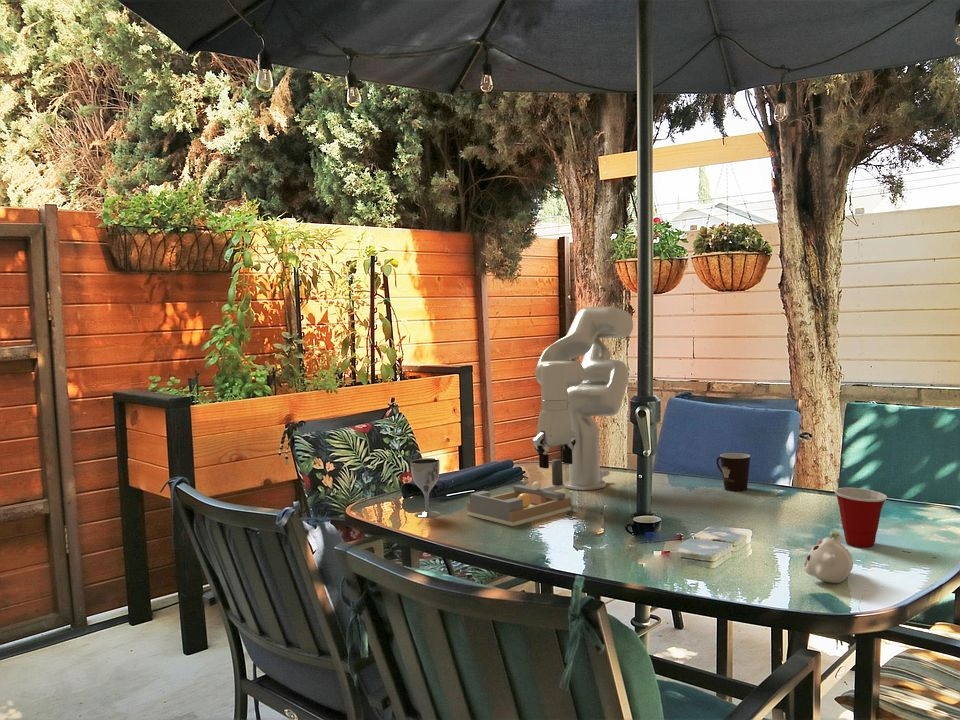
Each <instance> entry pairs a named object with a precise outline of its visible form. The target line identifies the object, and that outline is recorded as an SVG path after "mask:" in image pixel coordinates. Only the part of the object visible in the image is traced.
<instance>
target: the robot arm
mask: <svg viewBox="0 0 960 720" xmlns="http://www.w3.org/2000/svg"><path fill="white" fill-rule="evenodd" d="M573 318H574V319H573V320H572V323H571V325H570V326H569V329H568V331H567V333H566V335H565V336H564V337H561V338H560V339H558V340H557V341H555V342H553V343H552V344H550V345H549V346H547V348H545V349H544V350H543V352H542V354H541V355H540V357H539V360H538V362H537V365H536V367H535V373H534V375H535V379H536V381H537V383H538V384H539V385H540V387H541V388H540V391H541V392H540V393H541V400H540V401H541V410H540V411H539V415H538V419H537V420H538V421H537V431H536V432H537V434H536V436H535V437H534V438H533V439H532V443H533V446H534V449H535V450H536V452H537V454H538V461H539V462H538V463H539V464H538V467H539V468H541V469H547V470H548V469H550V468H549V467H550V460H549V459H550V458H549V457H550V455H549V454H548V452H549V450H550V448H554V447H561V446H562V447H563V449H562V464H567V465H568V470H569V471H568V472H569V473H568V476H569V479H568V480H565V482H564V486H565V487H564V488H566V489H570V490H577V491H578V490H579V491H592V490H593V491H594V490H598V489H602V488H605V487H606V481H605V480H603V478H605V477H608V476H610V473H611V472H610V471H609V470H608V469H604V470H602V469H601V459H600V457H601V456H600V431H599V427H598V424H597V423H596V421H595V420H594V419H593V417H613V416H616V415H617V414H618V413H619V411H620V409H621V407H622V406H621V405H622V403H623V400H624V395H625V393H626V390H627V386H628V383H629V372H628V367H627V364H626V363H624V362H623V361H622V360H618V359H611V357H612V354H611V352H610V349H609V348H608V346H607V345H606V344H605V343H604V342H603V341H602V340H601V339H616V338H617V339H621V338H627V337H629V336H630V335H631V334H632V333H633V329H634V321H633V317H632V315H631V314H630V312H628V311H626V310H625V309H624V310H623V309H621V308H618V307H616V306H614V307H613V306H595V307H594V306H593V307H591V306H590V307H584V308H582V309H579V310H578V311H577V312H576V314H575V316H574V317H573ZM582 356H583V357H582ZM579 357H582V360H581V361H580V362H579V361H576V360H573V359H576V358H579Z"/></svg>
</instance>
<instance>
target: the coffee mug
mask: <svg viewBox="0 0 960 720" xmlns="http://www.w3.org/2000/svg"><path fill="white" fill-rule="evenodd" d="M719 462H720V464H719ZM750 464H751V454H747V453H740V452H731V453H730V452H728V453H727V452H726V453H722V454H720V455H719V456H718V457H717V458H716V466H717V468H718V470H719V471H720V472H721V474H722V480H723V487H724V490H725V491H728V492H736V493H737V492H746V491H747V490H748V484H749V483H748V482H749V473H750Z"/></svg>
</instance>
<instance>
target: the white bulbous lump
mask: <svg viewBox="0 0 960 720" xmlns="http://www.w3.org/2000/svg"><path fill="white" fill-rule="evenodd" d="M829 536H830V537H829ZM829 536H827V537H824V538H823V539H822V538H819V539H818V540H817V542H816V544H815V545H813V547H811V549H810V550H809V552H808V554H807V557H806V559H805V560H804V571H805V573H806V574H807V575H810V576H811V577H815V578H816V579H818V580H820V581H823V582H825V583H831V584H839V583H841V582H843V581H845V580H846V579H847V578H848V576H850V574H851V571H852V570H853V568H854V558H853V556H852V554H851V553H850V551H849V550H848V549H847V548H846V546H844V545H842V541H843V536H842V534H840V533H839V532H838V531H833V530H831V531H830V532H829Z"/></svg>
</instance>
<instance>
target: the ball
mask: <svg viewBox="0 0 960 720" xmlns="http://www.w3.org/2000/svg"><path fill="white" fill-rule="evenodd" d="M517 498H520V499H523V508H526V507H528V506H529V505H530V504H531V497H530V496H529V495H528V494H526V493H522V494H520V495H519V496H518V497H517Z"/></svg>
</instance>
